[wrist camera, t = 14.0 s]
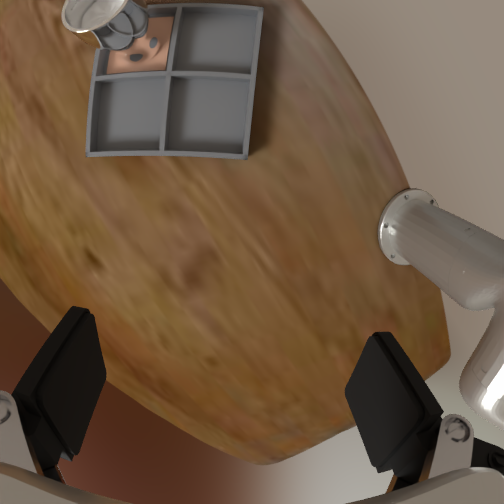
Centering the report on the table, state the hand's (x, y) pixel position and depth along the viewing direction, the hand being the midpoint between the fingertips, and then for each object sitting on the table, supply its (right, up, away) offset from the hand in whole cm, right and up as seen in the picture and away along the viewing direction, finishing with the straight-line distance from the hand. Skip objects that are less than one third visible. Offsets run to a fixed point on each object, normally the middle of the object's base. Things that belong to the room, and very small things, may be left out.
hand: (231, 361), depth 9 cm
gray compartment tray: (-9, +25, +21) cm, 34 cm away
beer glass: (-13, +30, +18) cm, 37 cm away
